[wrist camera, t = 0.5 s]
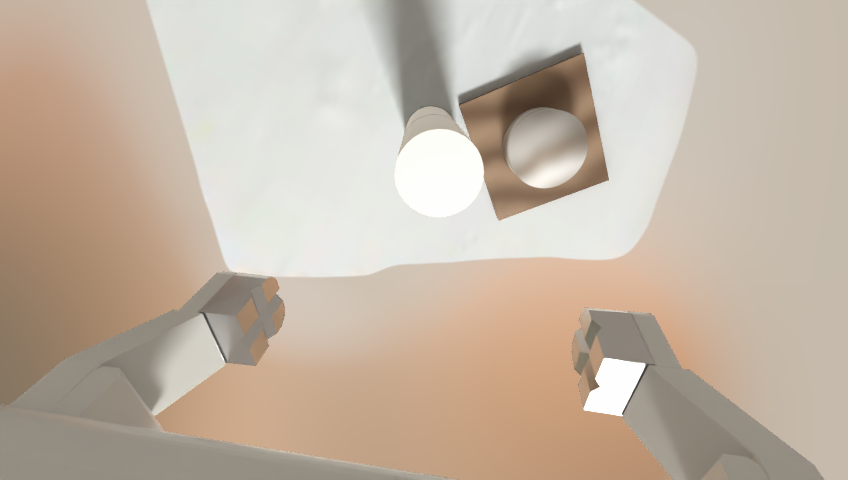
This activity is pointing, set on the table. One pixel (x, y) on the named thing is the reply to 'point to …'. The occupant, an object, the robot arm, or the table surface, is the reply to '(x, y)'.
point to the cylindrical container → (437, 165)
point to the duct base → (517, 100)
